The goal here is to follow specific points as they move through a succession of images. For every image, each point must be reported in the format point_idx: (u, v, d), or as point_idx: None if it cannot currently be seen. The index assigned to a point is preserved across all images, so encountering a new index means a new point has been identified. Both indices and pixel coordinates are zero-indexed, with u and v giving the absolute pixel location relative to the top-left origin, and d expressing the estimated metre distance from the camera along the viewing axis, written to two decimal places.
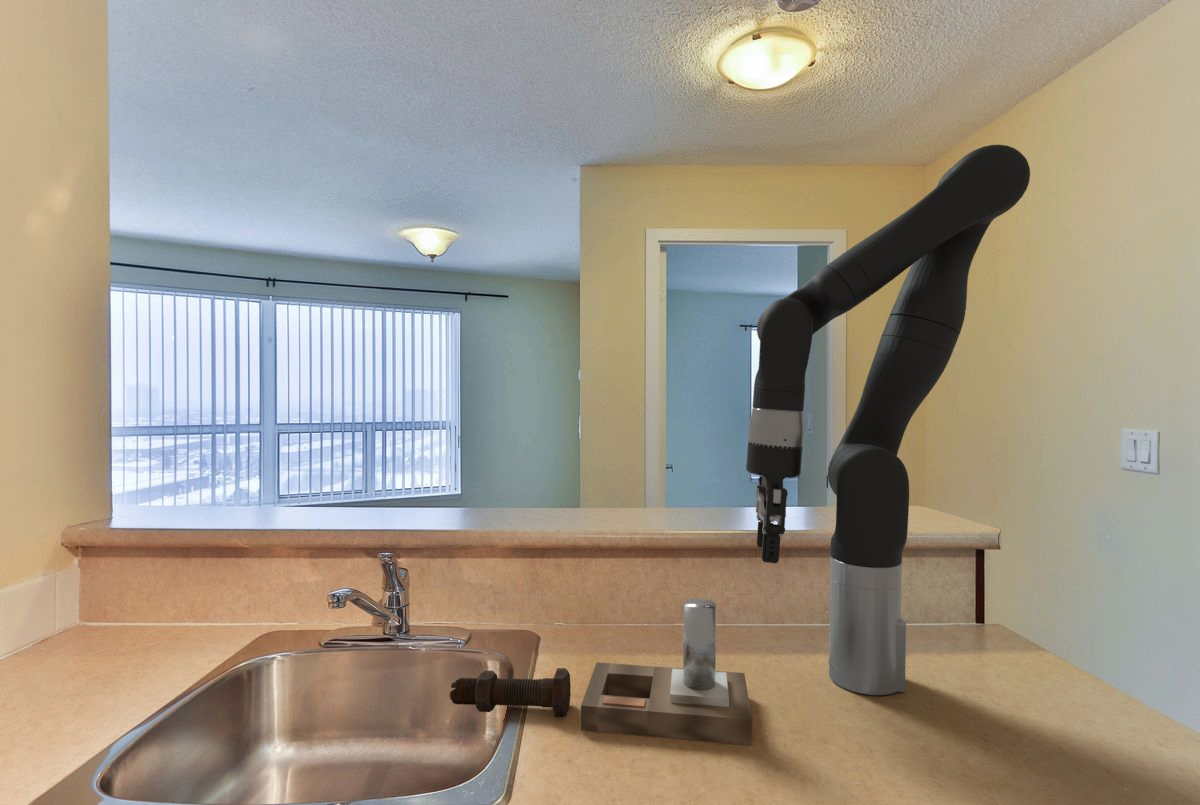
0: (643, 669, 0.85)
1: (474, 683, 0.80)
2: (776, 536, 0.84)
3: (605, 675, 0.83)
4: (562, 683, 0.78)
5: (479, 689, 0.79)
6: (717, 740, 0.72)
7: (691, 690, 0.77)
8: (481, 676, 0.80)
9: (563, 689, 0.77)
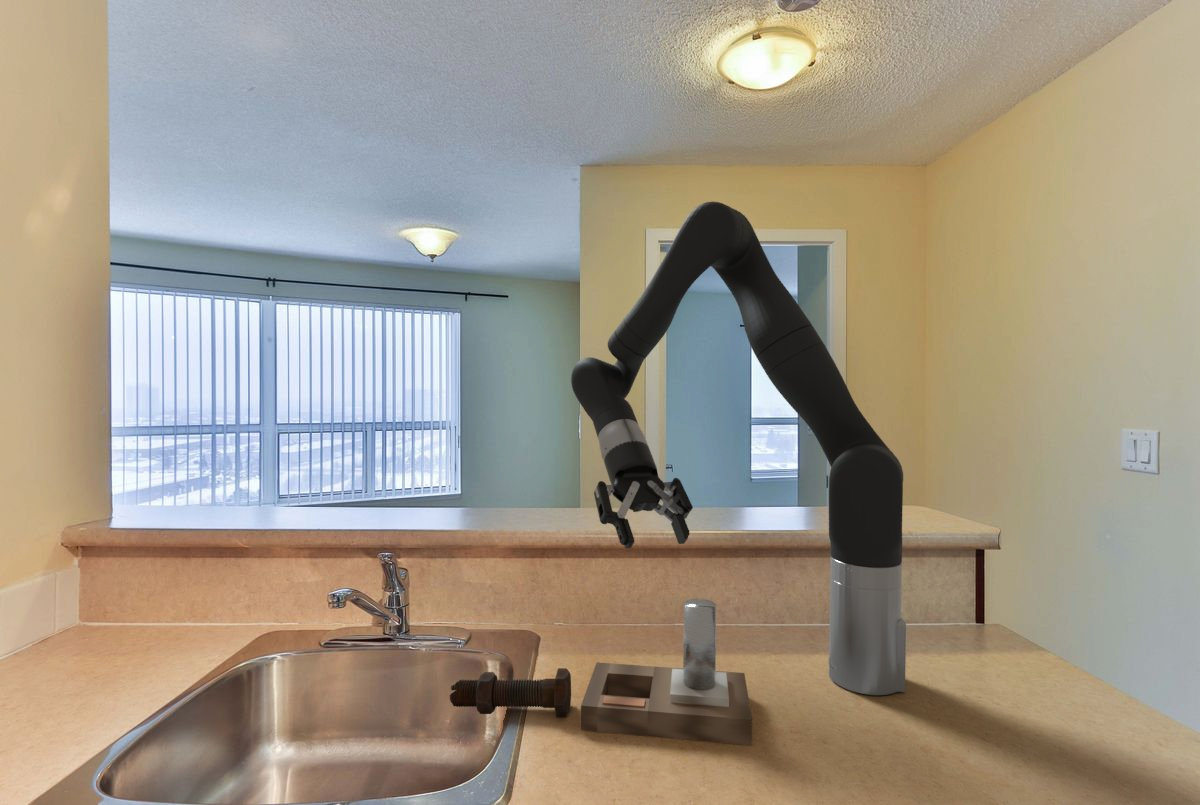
0: (643, 669, 0.85)
1: (474, 685, 0.79)
2: (616, 521, 0.89)
3: (605, 675, 0.83)
4: (564, 683, 0.77)
5: (480, 690, 0.78)
6: (717, 740, 0.72)
7: (691, 690, 0.77)
8: (482, 678, 0.79)
9: (565, 689, 0.77)
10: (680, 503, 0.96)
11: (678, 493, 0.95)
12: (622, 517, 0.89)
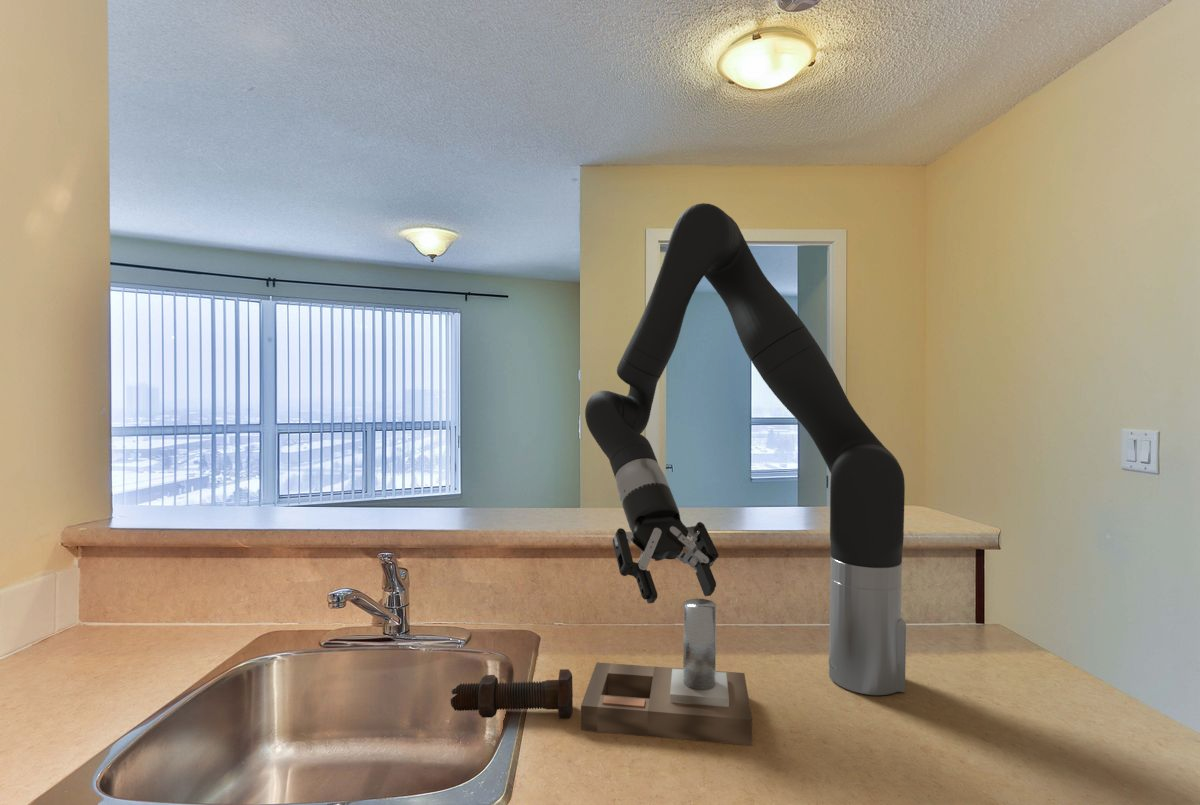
0: (643, 669, 0.85)
1: (476, 688, 0.78)
2: (637, 573, 0.83)
3: (605, 675, 0.83)
4: (567, 684, 0.77)
5: (482, 694, 0.77)
6: (717, 740, 0.72)
7: (691, 690, 0.77)
8: (483, 681, 0.78)
9: (569, 690, 0.77)
10: (705, 549, 0.90)
11: (702, 539, 0.89)
12: (644, 569, 0.83)
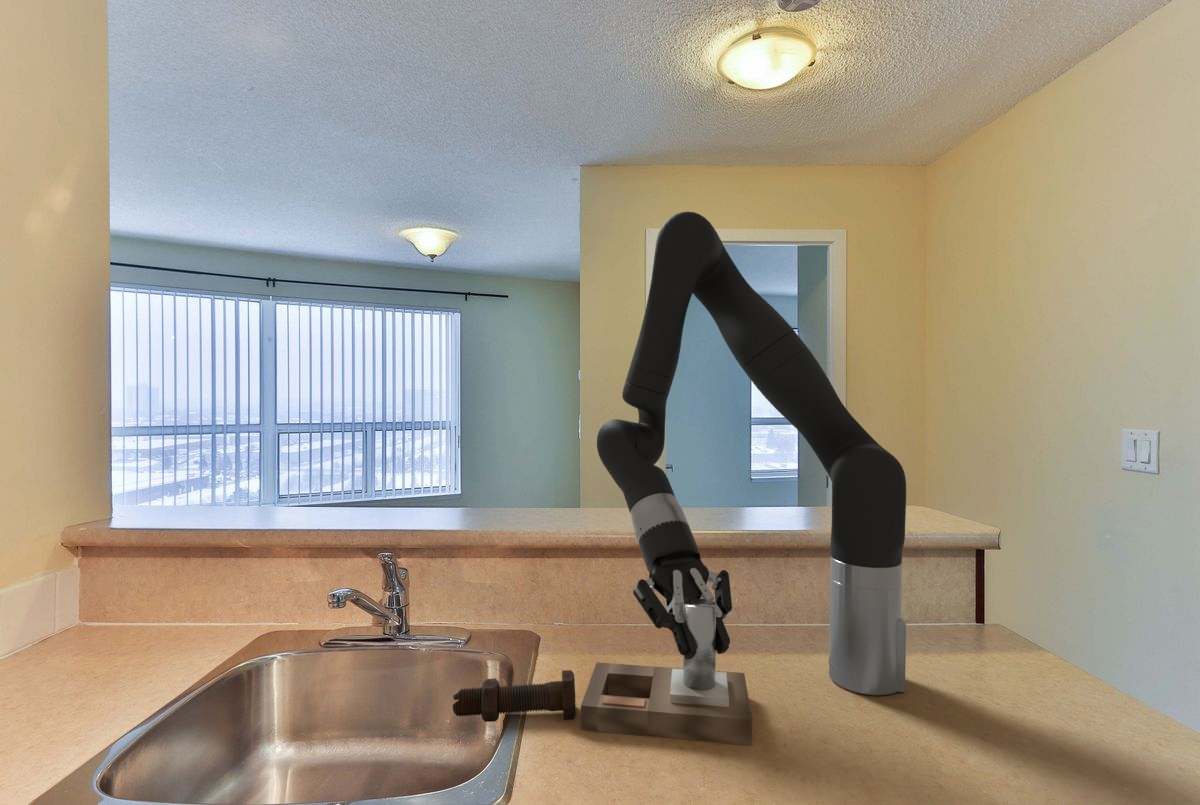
0: (643, 669, 0.85)
1: (478, 693, 0.77)
2: (673, 626, 0.77)
3: (605, 675, 0.83)
4: (572, 685, 0.77)
5: (485, 698, 0.76)
6: (717, 740, 0.72)
7: (691, 690, 0.77)
8: (486, 685, 0.77)
9: (573, 691, 0.77)
10: (721, 600, 0.83)
11: (721, 588, 0.83)
12: (681, 621, 0.77)
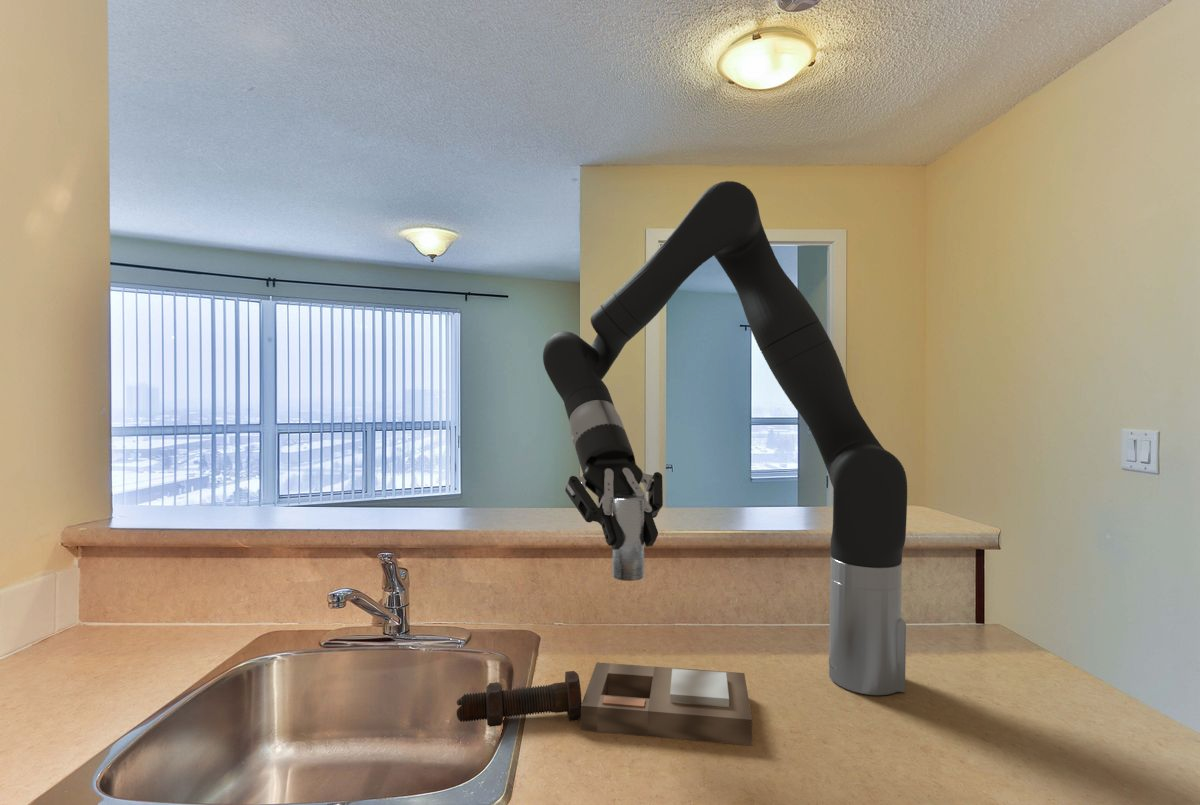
0: (643, 669, 0.85)
1: (482, 697, 0.76)
2: (602, 518, 0.79)
3: (605, 675, 0.83)
4: (577, 686, 0.77)
5: (491, 702, 0.75)
6: (717, 740, 0.72)
7: (691, 690, 0.77)
8: (490, 689, 0.76)
9: (579, 692, 0.77)
10: None
11: (653, 487, 0.84)
12: (609, 514, 0.78)
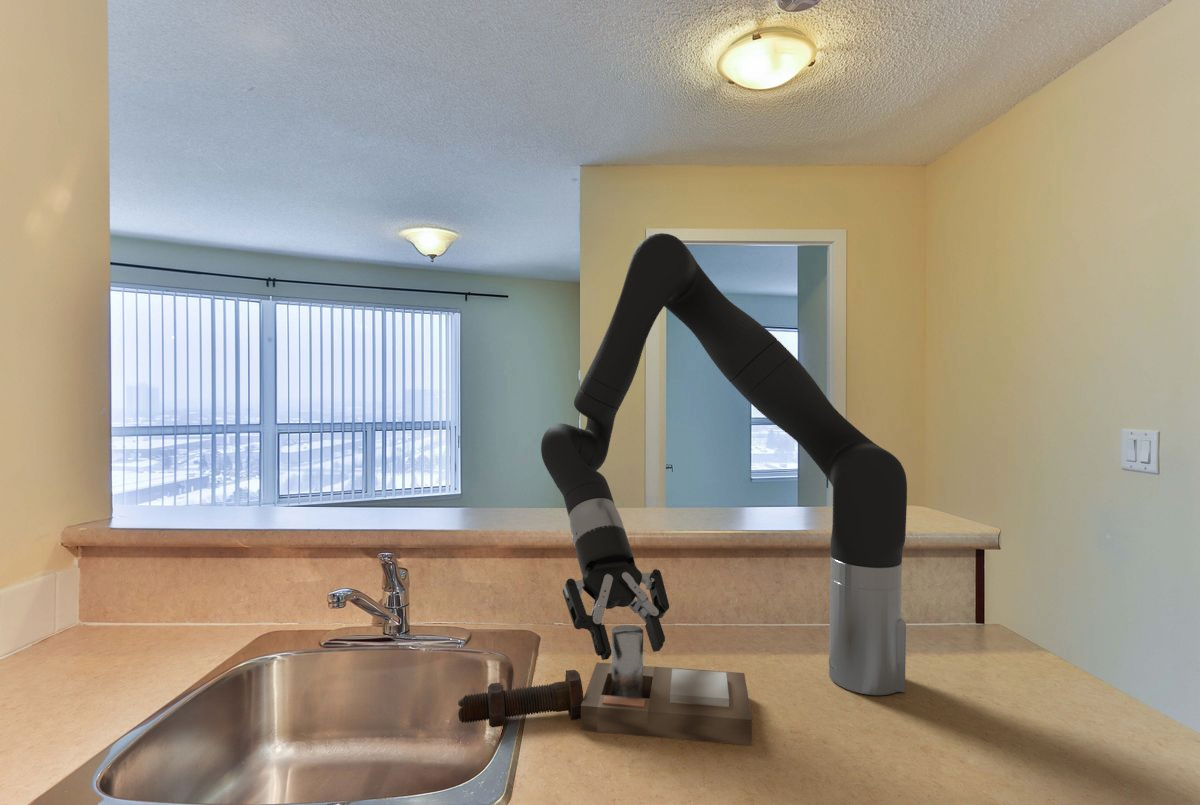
0: (643, 669, 0.85)
1: (484, 698, 0.76)
2: (591, 627, 0.79)
3: (605, 675, 0.83)
4: (579, 684, 0.77)
5: (493, 703, 0.75)
6: (717, 740, 0.72)
7: (691, 690, 0.77)
8: (492, 690, 0.76)
9: (581, 690, 0.77)
10: (658, 599, 0.85)
11: (656, 588, 0.85)
12: (598, 623, 0.79)
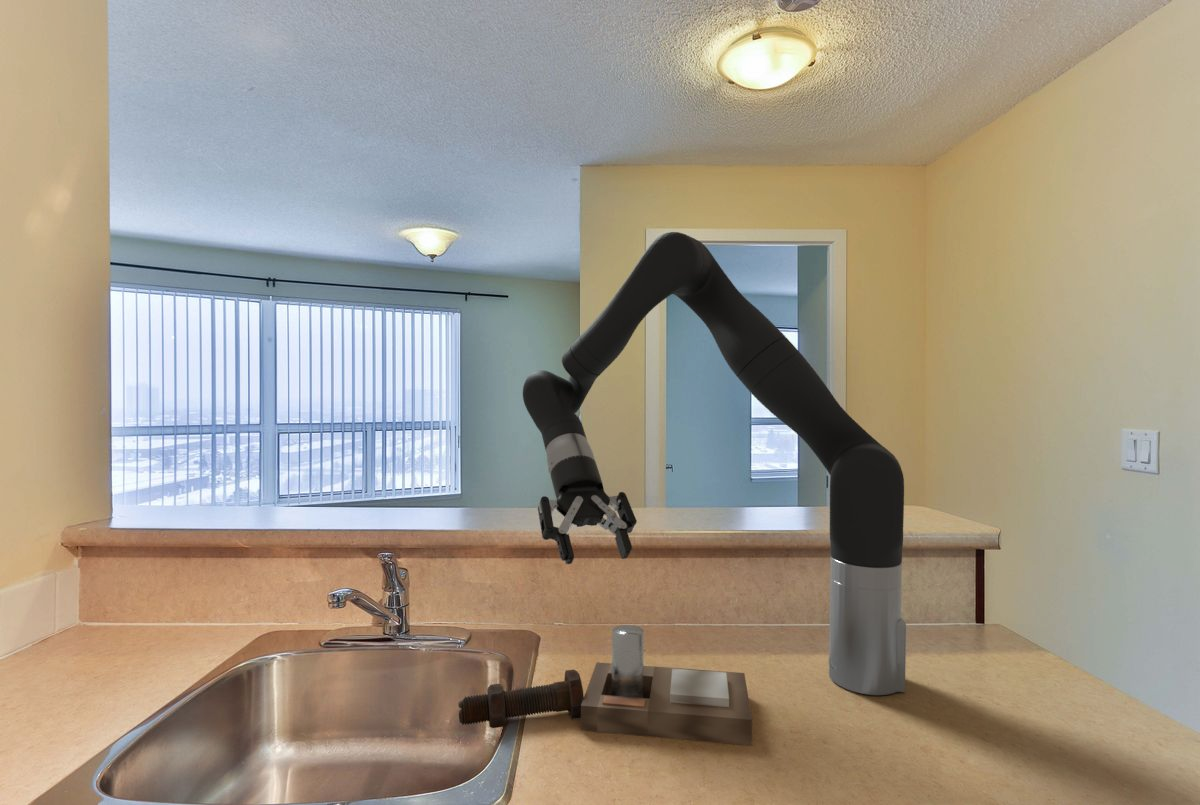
0: (643, 669, 0.85)
1: (484, 699, 0.76)
2: (557, 536, 0.89)
3: (605, 675, 0.83)
4: (579, 684, 0.77)
5: (493, 704, 0.75)
6: (717, 740, 0.72)
7: (691, 690, 0.77)
8: (492, 691, 0.76)
9: (581, 690, 0.77)
10: (625, 517, 0.96)
11: (623, 507, 0.96)
12: (563, 532, 0.89)
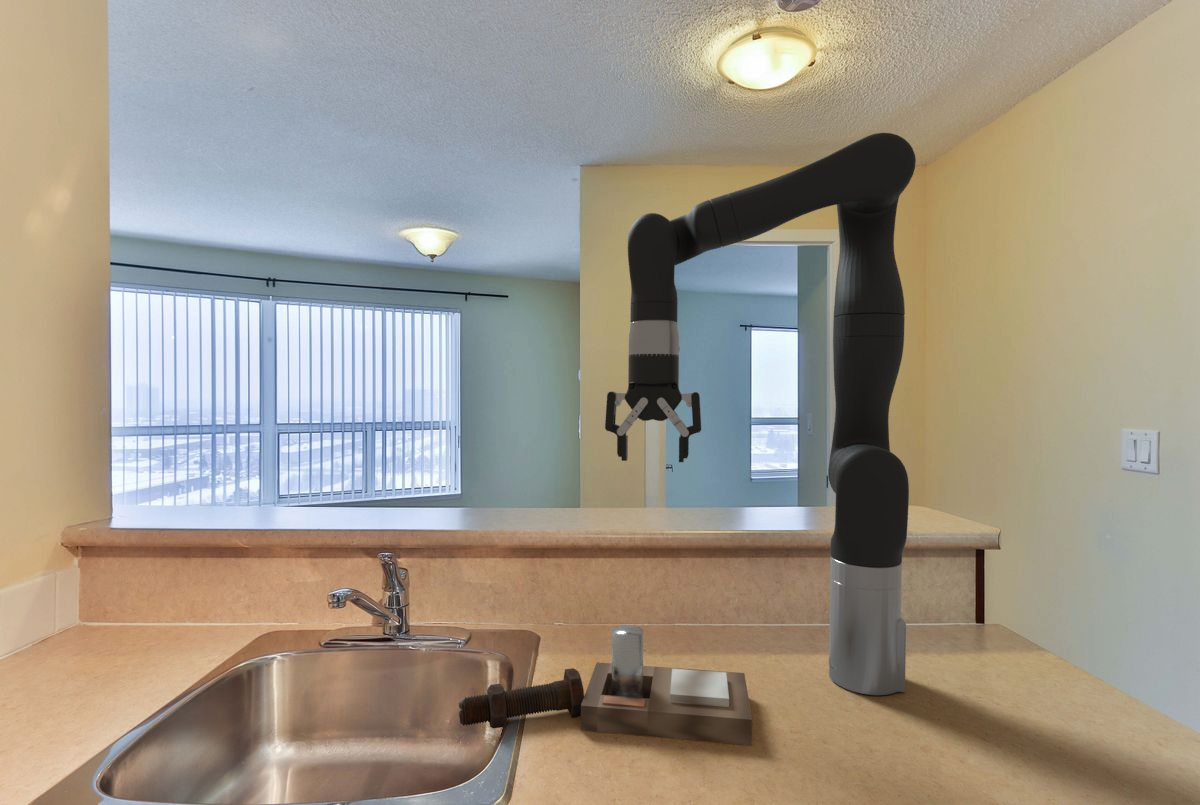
0: (643, 669, 0.85)
1: (485, 700, 0.76)
2: None
3: (605, 675, 0.83)
4: (579, 682, 0.78)
5: (494, 704, 0.75)
6: (717, 740, 0.72)
7: (691, 690, 0.77)
8: (493, 691, 0.76)
9: (582, 688, 0.77)
10: None
11: (692, 411, 0.92)
12: (621, 434, 0.93)
